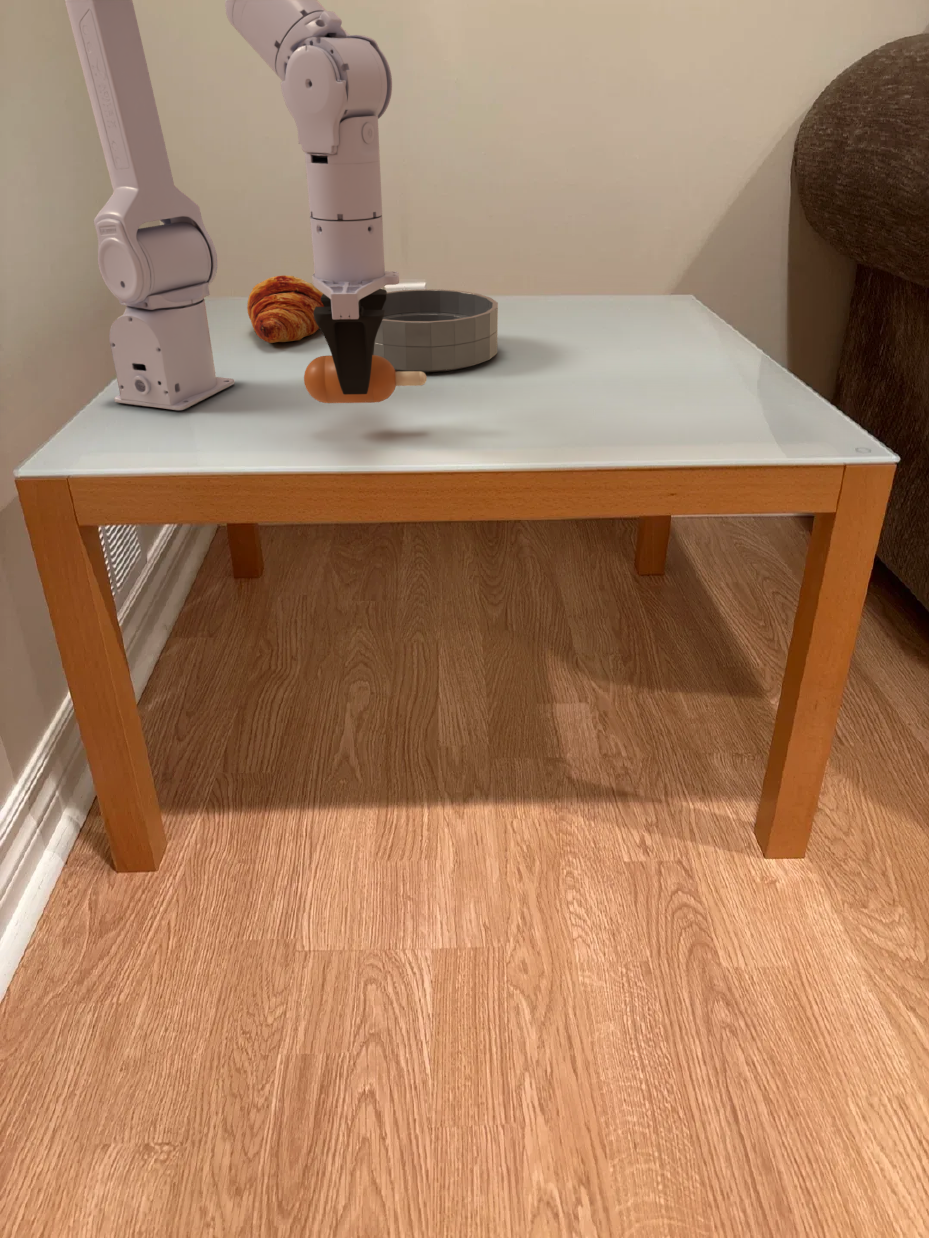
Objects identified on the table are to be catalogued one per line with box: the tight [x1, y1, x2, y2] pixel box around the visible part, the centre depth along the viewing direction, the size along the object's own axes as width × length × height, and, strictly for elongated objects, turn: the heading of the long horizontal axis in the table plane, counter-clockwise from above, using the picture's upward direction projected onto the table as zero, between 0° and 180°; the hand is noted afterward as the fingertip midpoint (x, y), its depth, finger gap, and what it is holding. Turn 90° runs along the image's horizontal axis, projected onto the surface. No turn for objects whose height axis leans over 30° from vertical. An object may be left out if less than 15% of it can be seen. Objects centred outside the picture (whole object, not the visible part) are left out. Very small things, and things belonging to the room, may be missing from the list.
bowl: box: [373, 288, 499, 373], centre depth 103 cm, size 16×16×6 cm
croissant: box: [246, 274, 324, 344], centre depth 113 cm, size 21×10×8 cm, turn 178°
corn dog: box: [303, 354, 428, 404], centre depth 80 cm, size 11×4×4 cm, turn 92°
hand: (356, 385), depth 80 cm, fingers closed on corn dog, 4 cm apart
